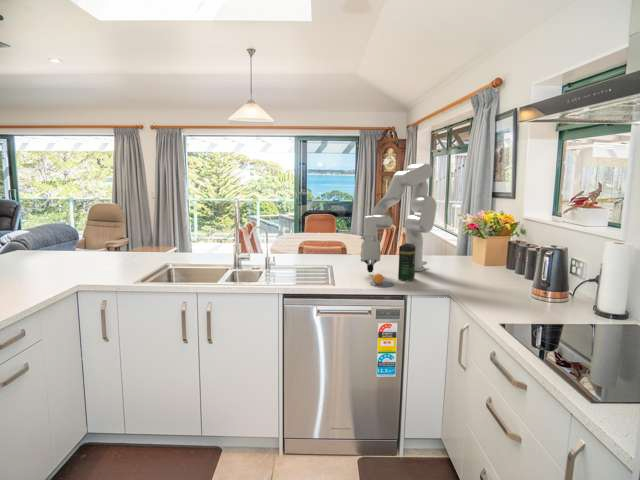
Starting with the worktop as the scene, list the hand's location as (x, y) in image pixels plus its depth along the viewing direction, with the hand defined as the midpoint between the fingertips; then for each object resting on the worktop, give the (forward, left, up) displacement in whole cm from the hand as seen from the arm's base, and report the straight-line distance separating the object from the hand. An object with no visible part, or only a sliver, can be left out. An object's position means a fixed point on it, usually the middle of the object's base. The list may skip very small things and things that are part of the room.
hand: (370, 271), depth 223 cm
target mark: (+11, +19, -2) cm, 22 cm away
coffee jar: (-7, +19, -2) cm, 21 cm away
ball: (+13, +19, +1) cm, 23 cm away
